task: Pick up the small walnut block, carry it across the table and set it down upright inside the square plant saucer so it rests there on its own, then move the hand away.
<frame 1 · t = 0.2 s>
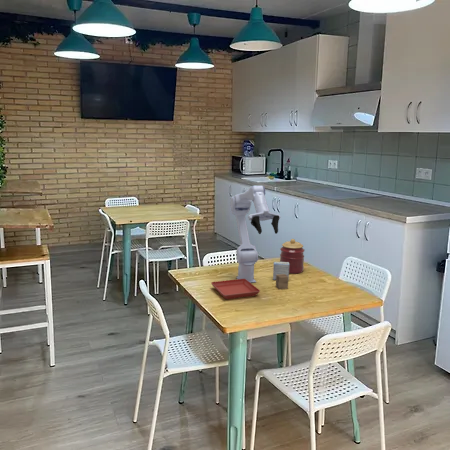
hand: (268, 232, 195), 31 cm above the table, tool tilted 45°, fingers open, 7 cm apart
plant saucer: (234, 293, 211), on the table
medicine box: (280, 279, 231), on the table
canister: (291, 270, 246), on the table
walnut block: (281, 287, 219), on the table
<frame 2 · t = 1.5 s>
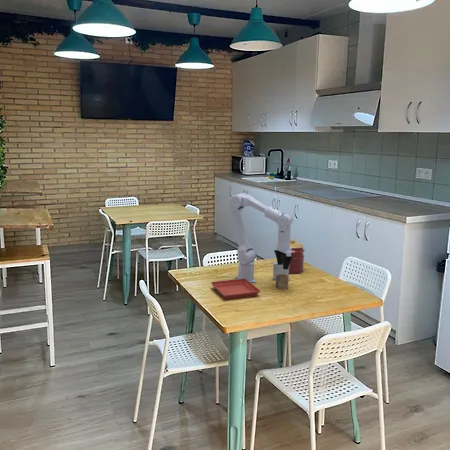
hand: (282, 266, 217), 10 cm above the table, tool pointing down, fingers open, 7 cm apart
nothing on the table moved.
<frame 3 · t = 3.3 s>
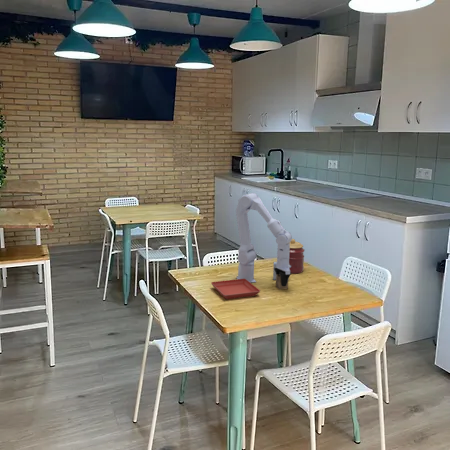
hand: (281, 284, 219), 2 cm above the table, tool pointing down, fingers closed on walnut block, 4 cm apart
walnut block: (281, 287, 219), on the table, touching gripper
everything else where it was.
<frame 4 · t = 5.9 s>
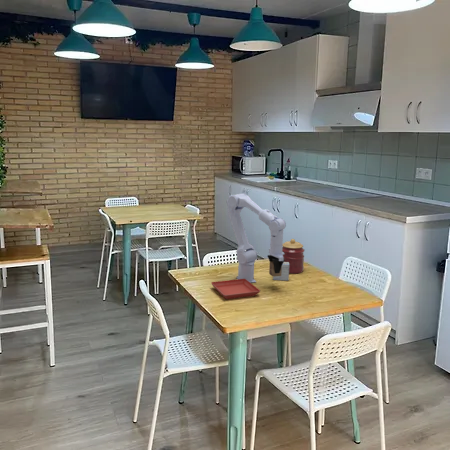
hand: (275, 271, 216), 8 cm above the table, tool pointing down, fingers closed on walnut block, 4 cm apart
walnut block: (275, 274, 216), point 7 cm above the table, touching gripper
everything else where it was.
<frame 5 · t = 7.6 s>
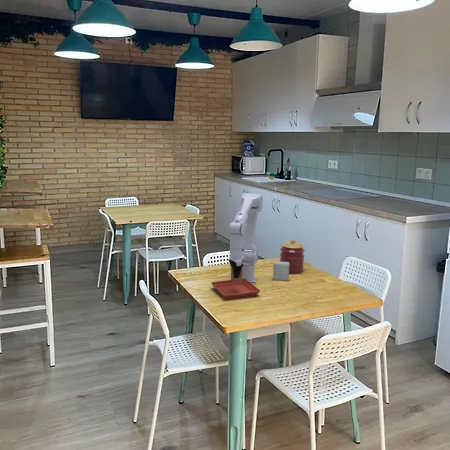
hand: (235, 276, 210), 8 cm above the table, tool pointing down, fingers closed on walnut block, 4 cm apart
walnut block: (236, 279, 210), point 6 cm above the table, touching gripper
everything else where it was.
when the fingers open (6 cm above the table, at t = 8.8 s): walnut block drops 1 cm, point 3 cm above the table.
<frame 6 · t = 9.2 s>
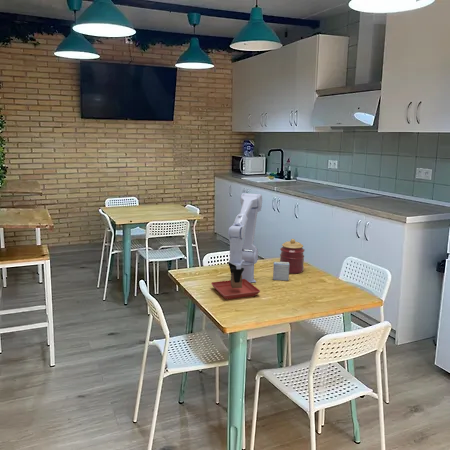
hand: (235, 279, 210), 6 cm above the table, tool pointing down, fingers open, 7 cm apart
walnut block: (236, 286, 211), point 3 cm above the table
everything else where it was.
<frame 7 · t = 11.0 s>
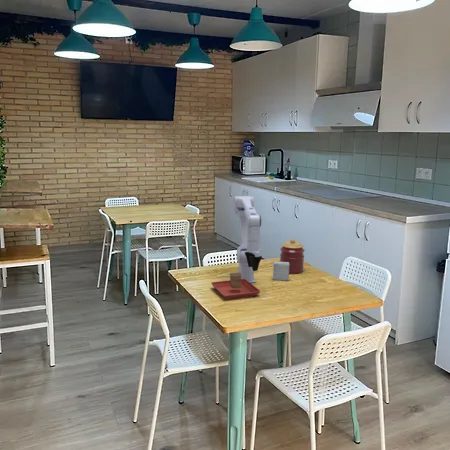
hand: (252, 268, 213), 10 cm above the table, tool pointing down, fingers open, 7 cm apart
plant saucer: (235, 293, 211), on the table, touching walnut block
walnut block: (235, 286, 211), point 3 cm above the table, touching plant saucer
everything else where it was.
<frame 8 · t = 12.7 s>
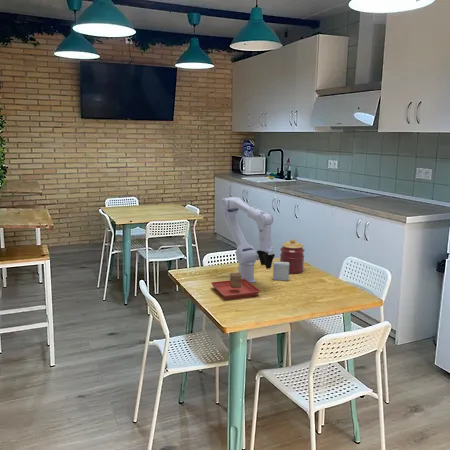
hand: (265, 266, 216), 10 cm above the table, tool pointing down, fingers open, 7 cm apart
nothing on the table moved.
at the end: walnut block touching plant saucer; walnut block tilted 0° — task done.
